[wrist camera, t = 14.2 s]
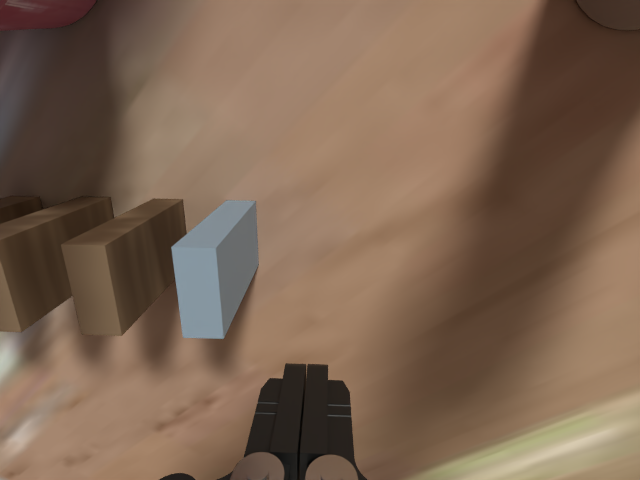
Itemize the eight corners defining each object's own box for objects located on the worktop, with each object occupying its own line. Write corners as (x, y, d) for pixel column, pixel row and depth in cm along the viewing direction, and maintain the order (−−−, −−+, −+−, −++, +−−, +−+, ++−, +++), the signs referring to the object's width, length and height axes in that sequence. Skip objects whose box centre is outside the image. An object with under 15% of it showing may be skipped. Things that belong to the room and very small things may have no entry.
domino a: (182, 199, 27) (104, 245, 18) (189, 263, 29) (121, 335, 20) (153, 198, 27) (60, 244, 18) (162, 262, 29) (81, 334, 20)
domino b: (110, 197, 27) (-6, 242, 18) (121, 260, 29) (21, 331, 20) (81, 196, 27) (-49, 240, 18) (94, 260, 29) (-19, 330, 20)
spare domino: (255, 200, 27) (215, 248, 18) (258, 264, 29) (223, 338, 20) (226, 200, 27) (171, 247, 18) (231, 264, 29) (183, 337, 20)
